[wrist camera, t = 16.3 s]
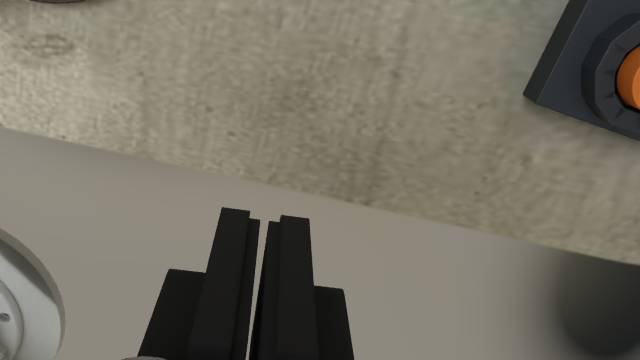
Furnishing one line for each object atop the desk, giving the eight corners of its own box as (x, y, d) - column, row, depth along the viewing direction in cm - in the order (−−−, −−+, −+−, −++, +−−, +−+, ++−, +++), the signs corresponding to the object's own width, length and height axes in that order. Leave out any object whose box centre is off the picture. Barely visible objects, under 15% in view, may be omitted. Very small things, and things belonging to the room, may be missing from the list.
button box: (716, 28, 37) (763, 39, 33) (649, 140, 40) (686, 161, 36) (582, -27, 35) (616, -22, 32) (522, 94, 38) (546, 111, 35)
